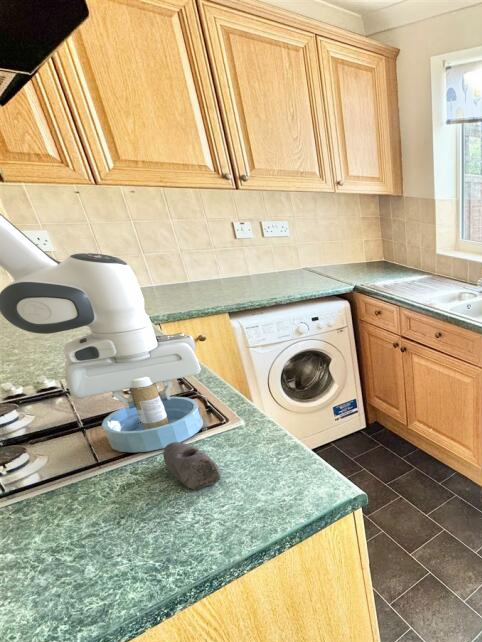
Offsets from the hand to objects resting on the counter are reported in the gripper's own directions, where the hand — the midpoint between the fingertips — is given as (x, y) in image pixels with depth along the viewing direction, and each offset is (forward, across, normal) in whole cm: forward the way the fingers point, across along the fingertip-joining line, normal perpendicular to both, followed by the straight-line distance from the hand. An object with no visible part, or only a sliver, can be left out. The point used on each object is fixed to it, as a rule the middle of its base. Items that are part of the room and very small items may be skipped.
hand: (148, 403), depth 87 cm
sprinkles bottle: (+7, 0, 0) cm, 7 cm away
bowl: (+8, 0, 0) cm, 8 cm away
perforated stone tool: (+8, -2, +21) cm, 22 cm away
